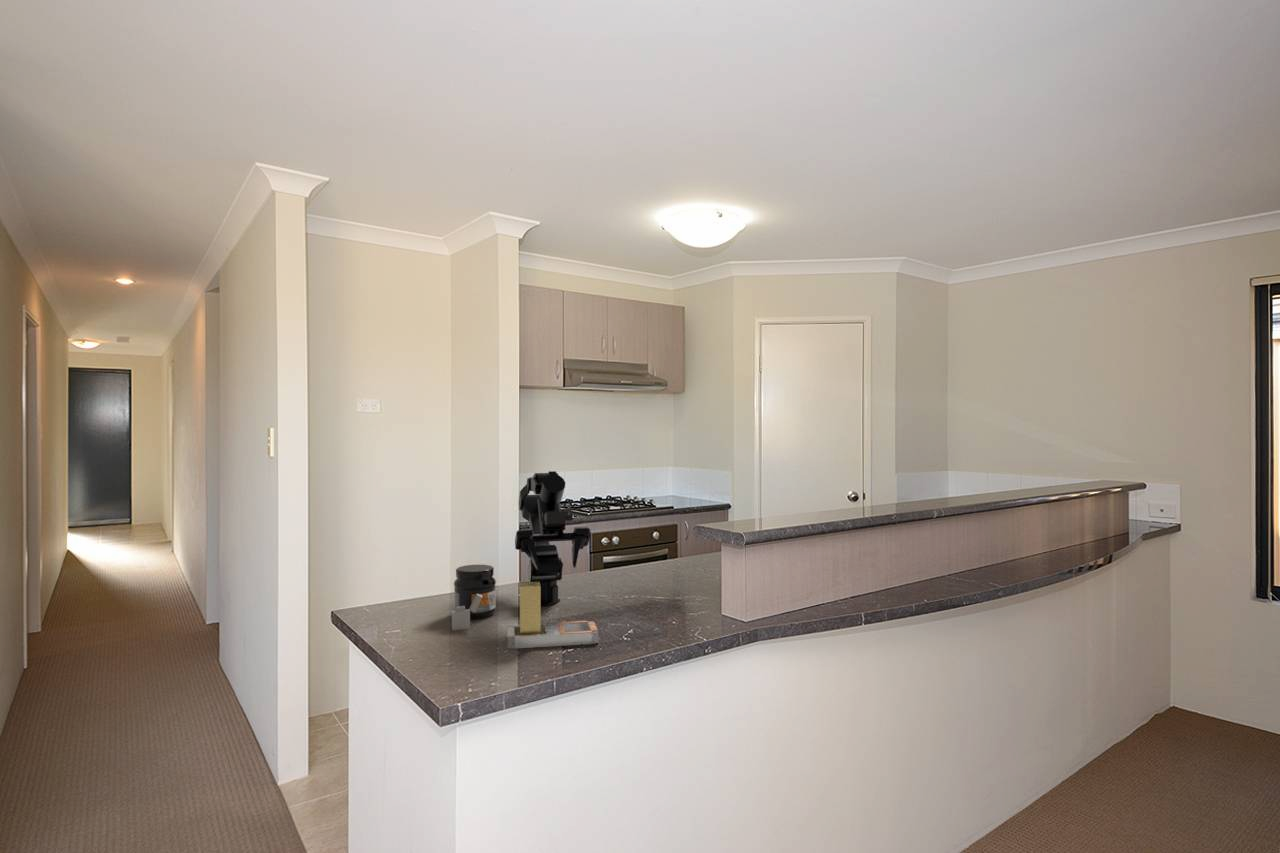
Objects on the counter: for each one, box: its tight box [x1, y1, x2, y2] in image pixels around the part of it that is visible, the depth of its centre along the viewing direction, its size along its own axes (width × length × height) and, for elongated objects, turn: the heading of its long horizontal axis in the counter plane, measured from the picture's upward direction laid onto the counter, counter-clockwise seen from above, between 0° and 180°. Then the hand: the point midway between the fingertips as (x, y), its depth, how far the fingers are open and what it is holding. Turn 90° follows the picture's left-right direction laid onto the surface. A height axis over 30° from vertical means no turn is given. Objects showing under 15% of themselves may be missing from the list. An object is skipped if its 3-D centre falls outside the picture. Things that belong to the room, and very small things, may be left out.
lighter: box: [451, 594, 483, 631], centre depth 171 cm, size 7×2×8 cm, turn 110°
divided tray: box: [506, 620, 599, 650], centre depth 162 cm, size 20×9×3 cm, turn 101°
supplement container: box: [453, 563, 497, 620], centre depth 183 cm, size 10×10×12 cm
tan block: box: [519, 581, 542, 636], centre depth 161 cm, size 4×4×13 cm
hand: (556, 568), depth 176 cm, fingers open, 9 cm apart
